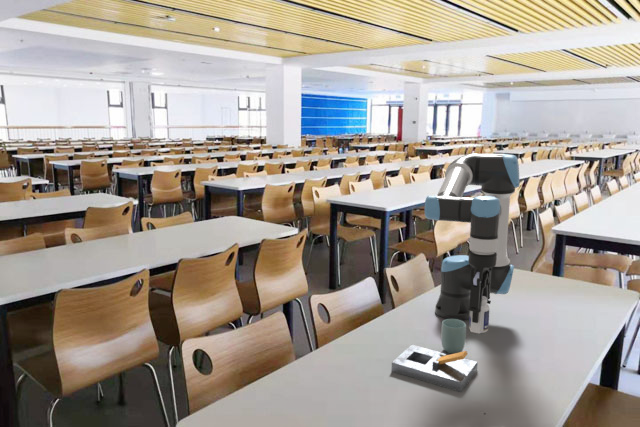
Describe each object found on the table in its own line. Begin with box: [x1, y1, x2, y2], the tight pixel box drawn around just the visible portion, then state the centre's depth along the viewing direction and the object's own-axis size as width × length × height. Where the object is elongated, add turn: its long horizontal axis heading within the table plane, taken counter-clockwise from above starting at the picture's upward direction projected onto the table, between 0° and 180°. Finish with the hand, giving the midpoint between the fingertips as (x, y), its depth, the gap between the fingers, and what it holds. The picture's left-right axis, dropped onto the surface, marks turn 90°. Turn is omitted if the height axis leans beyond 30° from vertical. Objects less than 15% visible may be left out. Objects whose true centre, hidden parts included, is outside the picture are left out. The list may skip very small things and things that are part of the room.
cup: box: [440, 318, 467, 354], centre depth 172 cm, size 8×8×10 cm
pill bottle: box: [468, 296, 490, 334], centre depth 149 cm, size 5×5×10 cm
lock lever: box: [435, 350, 468, 364], centre depth 156 cm, size 4×10×1 cm, turn 56°
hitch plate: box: [391, 344, 478, 393], centre depth 160 cm, size 15×22×5 cm
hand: (478, 328), depth 150 cm, fingers closed on pill bottle, 5 cm apart
